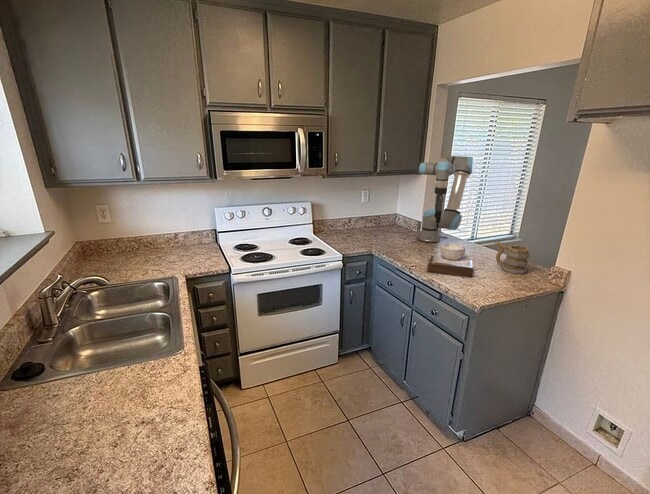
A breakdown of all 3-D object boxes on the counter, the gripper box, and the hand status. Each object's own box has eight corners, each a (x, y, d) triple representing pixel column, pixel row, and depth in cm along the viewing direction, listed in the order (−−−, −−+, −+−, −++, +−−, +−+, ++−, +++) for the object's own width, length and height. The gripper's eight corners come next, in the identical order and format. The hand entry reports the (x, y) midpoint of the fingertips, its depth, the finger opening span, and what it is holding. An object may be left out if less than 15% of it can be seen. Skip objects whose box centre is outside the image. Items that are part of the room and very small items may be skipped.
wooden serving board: (430, 262, 223) (431, 253, 221) (471, 267, 216) (472, 258, 213) (427, 272, 209) (428, 262, 206) (471, 277, 201) (472, 267, 199)
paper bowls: (442, 252, 243) (443, 241, 240) (465, 256, 236) (467, 245, 233) (436, 259, 230) (438, 247, 227) (461, 263, 223) (463, 251, 220)
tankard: (529, 270, 212) (535, 246, 206) (520, 275, 204) (526, 250, 199) (496, 262, 226) (500, 239, 220) (486, 266, 218) (491, 243, 212)
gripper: (433, 184, 237) (430, 215, 245) (436, 189, 214) (432, 224, 222) (445, 184, 235) (441, 216, 243) (449, 190, 213) (444, 225, 221)
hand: (437, 220), depth 233 cm, fingers open, 13 cm apart
